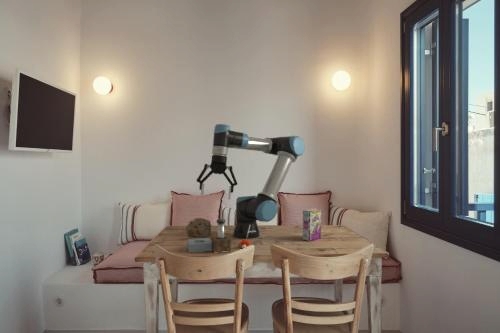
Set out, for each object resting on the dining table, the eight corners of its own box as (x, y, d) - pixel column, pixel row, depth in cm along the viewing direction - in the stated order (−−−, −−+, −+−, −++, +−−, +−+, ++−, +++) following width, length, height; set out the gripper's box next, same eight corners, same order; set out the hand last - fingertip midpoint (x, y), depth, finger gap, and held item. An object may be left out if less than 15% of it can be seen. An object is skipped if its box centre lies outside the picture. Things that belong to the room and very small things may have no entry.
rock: (212, 238, 194) (208, 222, 193) (188, 245, 194) (183, 228, 192) (213, 227, 214) (209, 213, 213) (191, 233, 214) (187, 218, 212)
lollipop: (257, 249, 168) (257, 225, 168) (238, 249, 167) (237, 225, 167) (256, 246, 174) (255, 222, 174) (237, 246, 173) (237, 223, 173)
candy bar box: (309, 241, 182) (309, 211, 182) (302, 240, 186) (302, 210, 186) (321, 238, 190) (321, 209, 190) (314, 236, 194) (314, 208, 194)
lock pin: (224, 249, 169) (224, 218, 168) (226, 251, 164) (225, 220, 164) (216, 249, 168) (215, 219, 167) (217, 251, 163) (217, 220, 163)
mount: (227, 247, 171) (227, 235, 171) (230, 251, 163) (230, 239, 163) (211, 248, 169) (211, 236, 169) (214, 253, 161) (214, 240, 161)
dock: (209, 245, 175) (209, 237, 175) (212, 251, 164) (212, 243, 164) (187, 247, 172) (187, 239, 172) (189, 252, 162) (189, 244, 162)
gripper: (193, 152, 166) (189, 196, 165) (244, 157, 165) (240, 200, 164) (196, 153, 173) (192, 195, 172) (244, 158, 173) (241, 199, 171)
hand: (215, 198), depth 168 cm, fingers open, 13 cm apart
